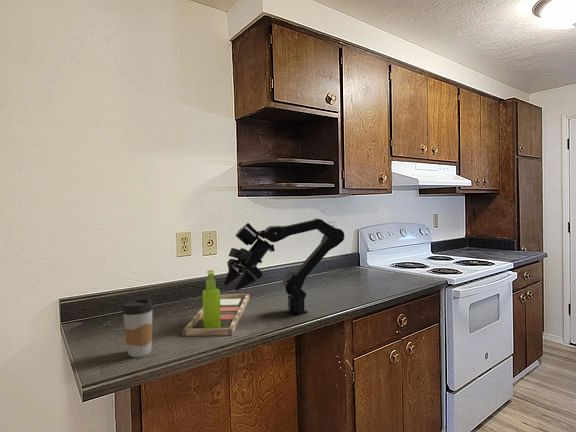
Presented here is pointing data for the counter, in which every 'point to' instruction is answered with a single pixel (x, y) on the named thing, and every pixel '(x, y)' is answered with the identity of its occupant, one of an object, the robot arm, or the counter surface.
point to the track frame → (217, 331)
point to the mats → (227, 309)
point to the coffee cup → (138, 327)
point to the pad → (229, 302)
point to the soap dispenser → (211, 303)
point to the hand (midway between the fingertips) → (229, 287)
